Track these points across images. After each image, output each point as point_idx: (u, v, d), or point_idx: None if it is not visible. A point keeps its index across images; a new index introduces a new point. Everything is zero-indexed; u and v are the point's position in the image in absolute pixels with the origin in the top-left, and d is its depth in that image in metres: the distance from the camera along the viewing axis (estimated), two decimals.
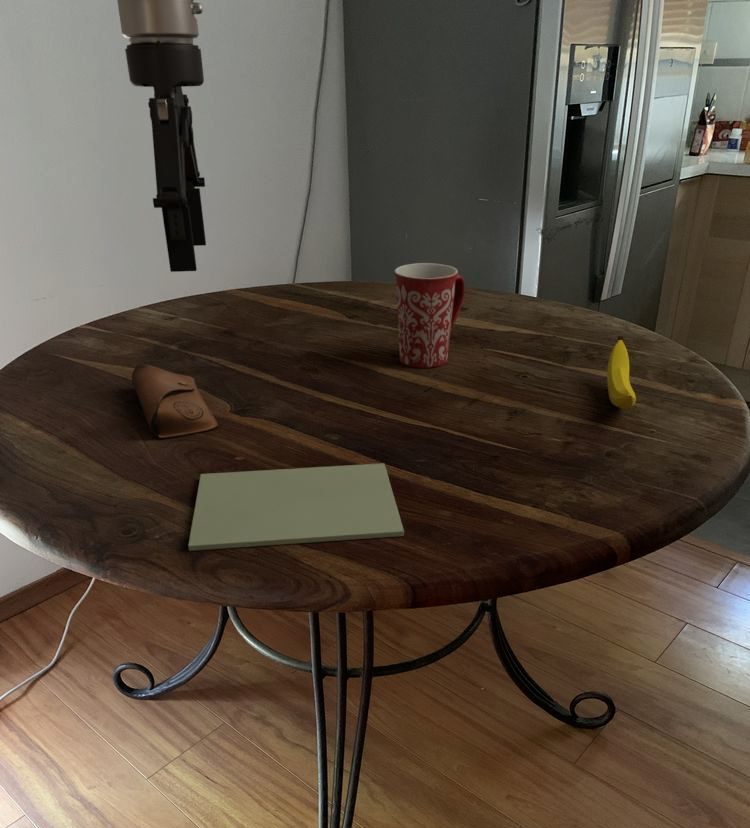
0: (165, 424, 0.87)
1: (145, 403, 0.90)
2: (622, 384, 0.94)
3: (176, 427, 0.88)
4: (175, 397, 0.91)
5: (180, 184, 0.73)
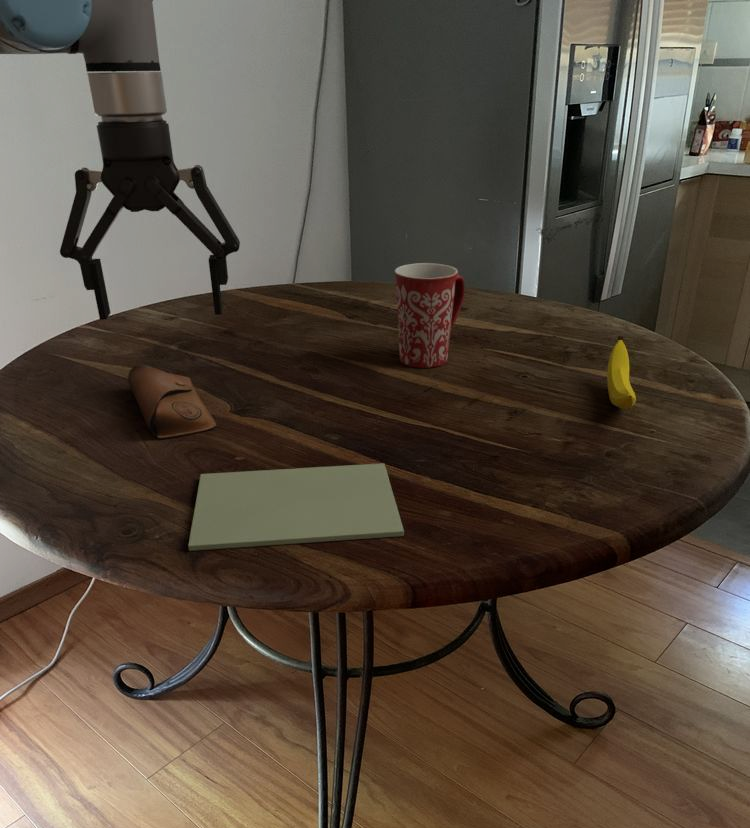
0: (164, 424, 0.87)
1: (143, 403, 0.90)
2: (622, 384, 0.94)
3: (175, 427, 0.88)
4: (173, 398, 0.91)
5: (234, 232, 0.87)
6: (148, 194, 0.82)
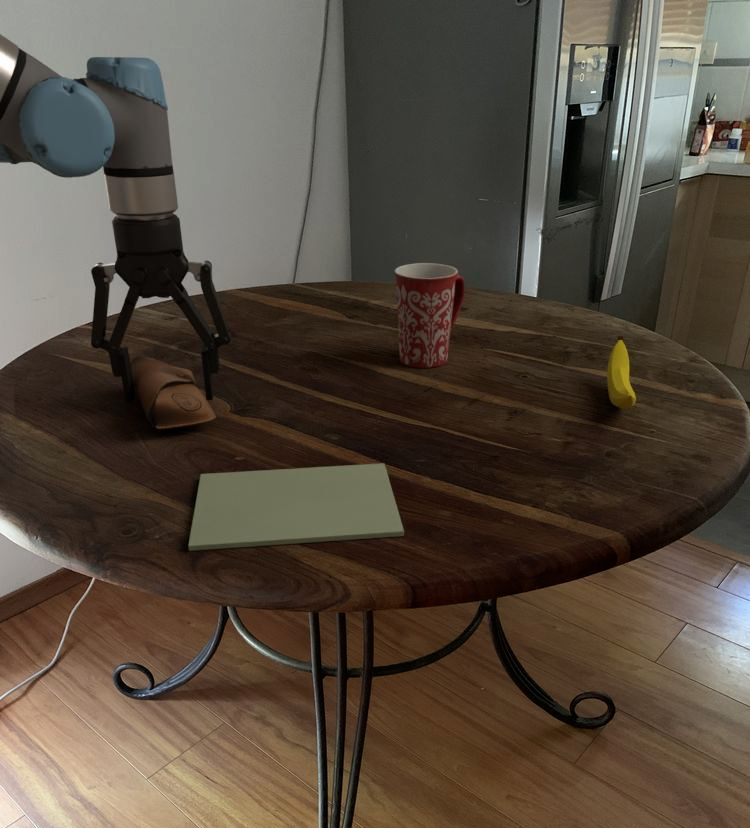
0: (163, 415, 0.86)
1: (143, 394, 0.89)
2: (622, 384, 0.94)
3: (174, 418, 0.87)
4: (173, 389, 0.90)
5: (227, 325, 0.93)
6: (159, 282, 0.87)
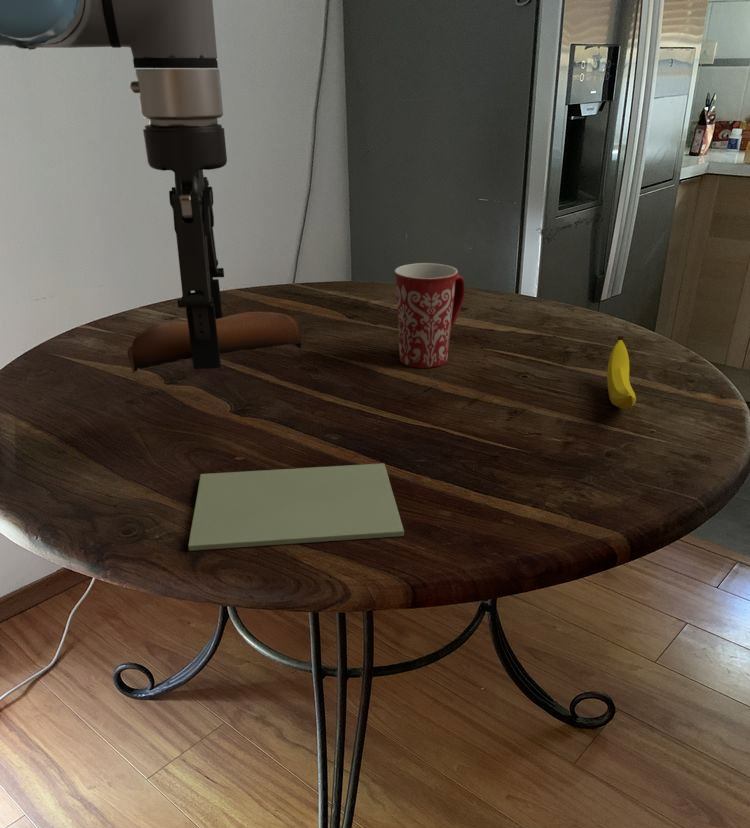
0: None
1: (257, 331, 0.78)
2: (622, 384, 0.94)
3: None
4: None
5: None
6: None
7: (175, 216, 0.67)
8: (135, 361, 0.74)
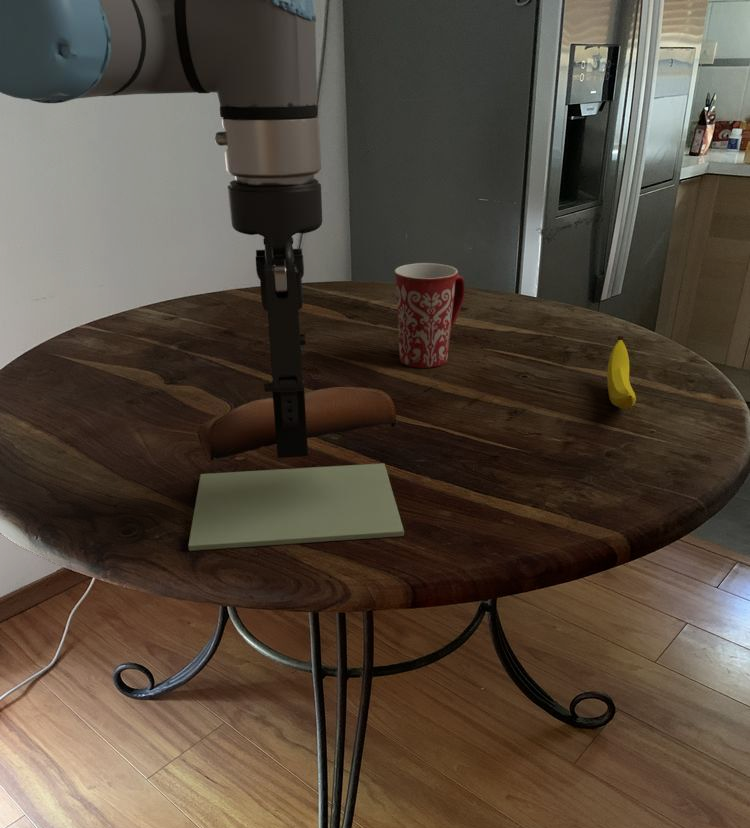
0: None
1: (349, 411, 0.67)
2: (622, 384, 0.94)
3: None
4: None
5: None
6: None
7: (267, 291, 0.57)
8: (212, 451, 0.64)
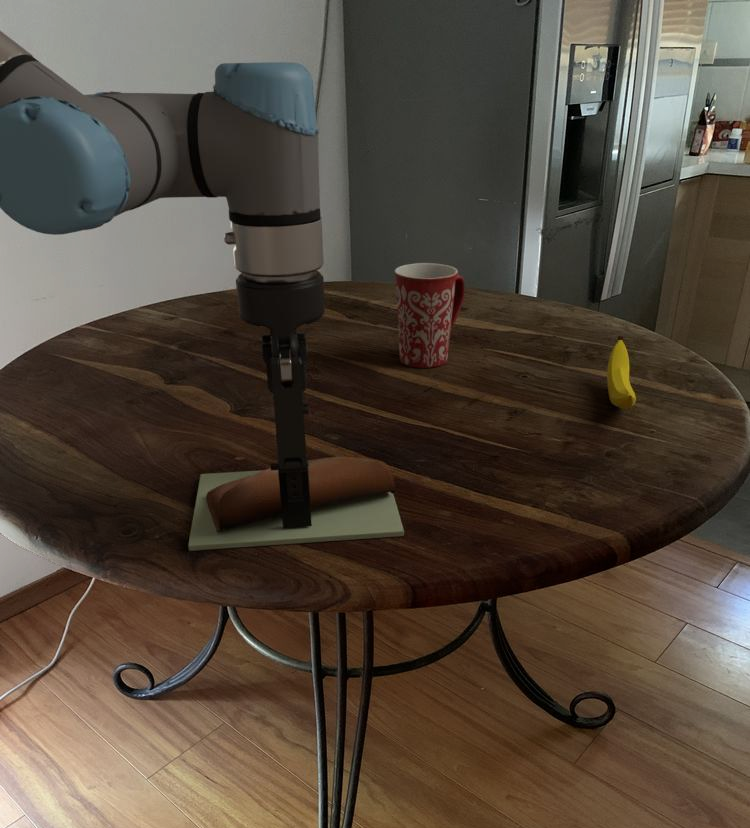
0: None
1: (350, 482, 0.71)
2: (622, 384, 0.94)
3: None
4: None
5: None
6: None
7: (273, 381, 0.61)
8: (221, 523, 0.67)
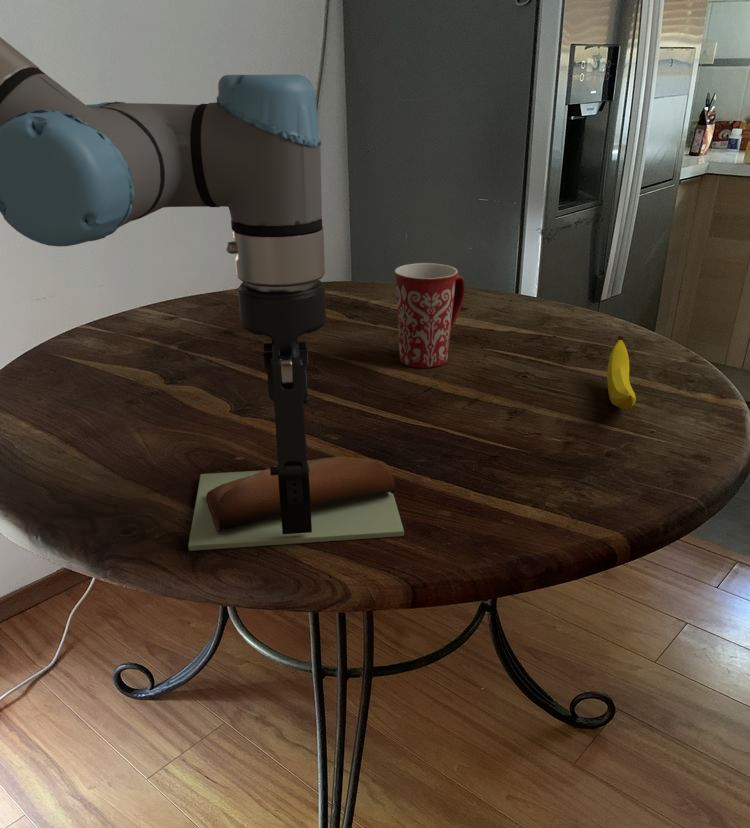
0: None
1: (350, 482, 0.71)
2: (622, 384, 0.94)
3: None
4: None
5: None
6: None
7: (274, 382, 0.60)
8: (221, 523, 0.67)
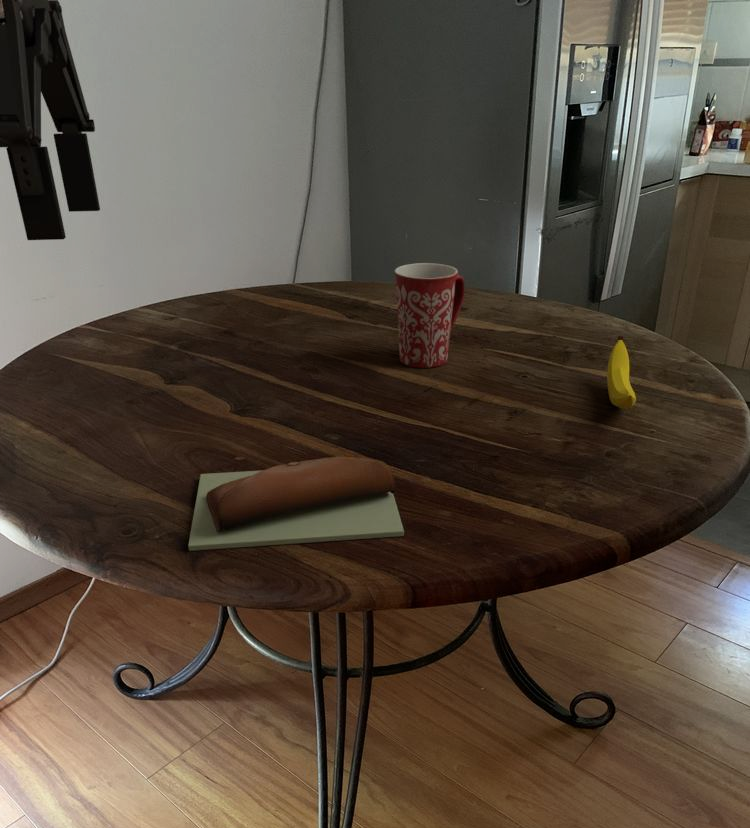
0: None
1: (350, 482, 0.71)
2: (622, 384, 0.94)
3: None
4: None
5: None
6: None
7: None
8: (221, 523, 0.67)
